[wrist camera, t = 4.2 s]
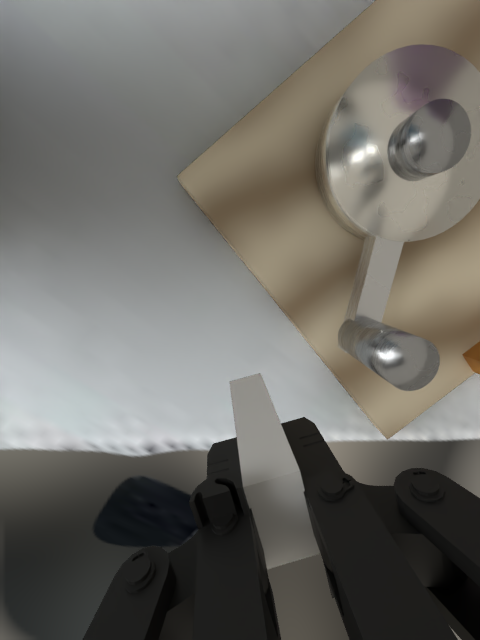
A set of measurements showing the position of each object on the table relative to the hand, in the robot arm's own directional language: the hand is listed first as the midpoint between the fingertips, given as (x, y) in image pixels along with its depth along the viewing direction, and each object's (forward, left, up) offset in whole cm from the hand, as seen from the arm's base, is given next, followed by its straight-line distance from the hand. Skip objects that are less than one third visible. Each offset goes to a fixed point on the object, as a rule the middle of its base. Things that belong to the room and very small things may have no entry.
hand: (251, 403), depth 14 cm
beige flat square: (0, +14, -6) cm, 16 cm away
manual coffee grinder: (-2, +12, -5) cm, 13 cm away
